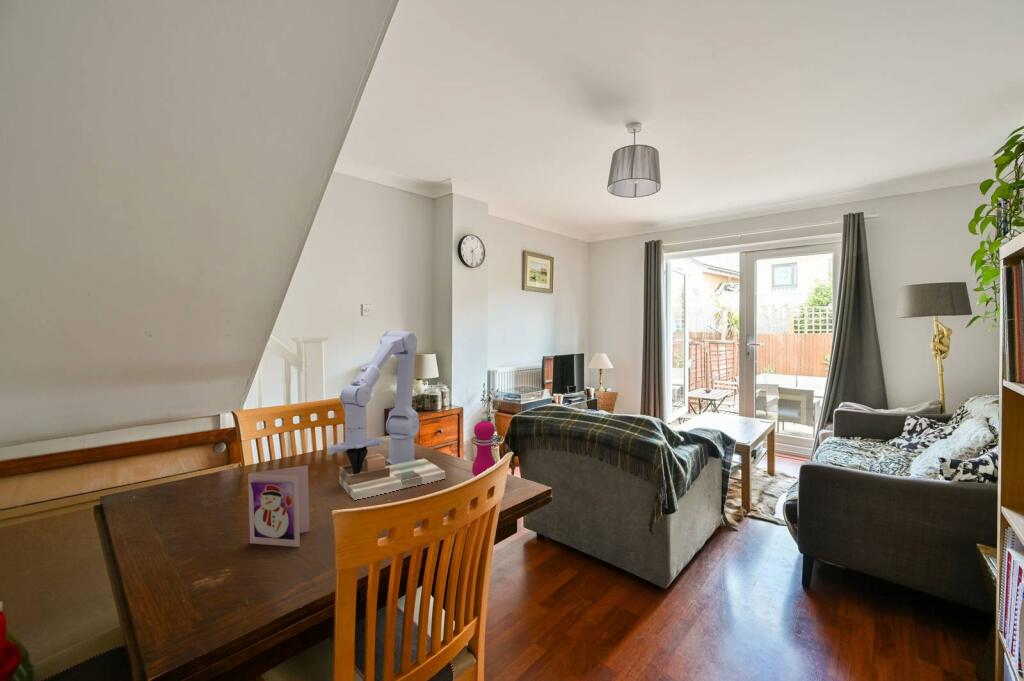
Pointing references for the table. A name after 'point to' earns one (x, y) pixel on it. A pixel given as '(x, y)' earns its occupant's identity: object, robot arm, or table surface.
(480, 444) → the pepper mill
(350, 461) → the robot arm
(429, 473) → the plate
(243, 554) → the table surface
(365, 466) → the cube
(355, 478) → the wooden frame
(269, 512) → the greeting card
